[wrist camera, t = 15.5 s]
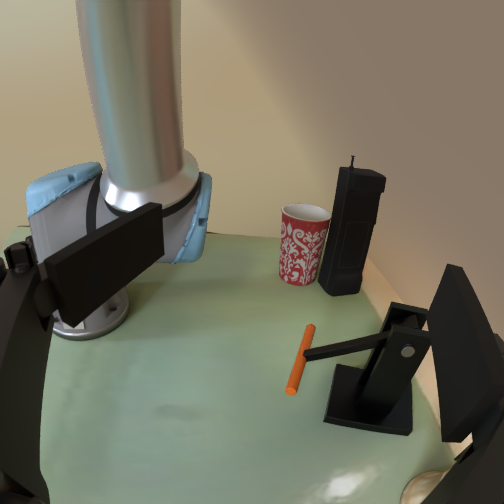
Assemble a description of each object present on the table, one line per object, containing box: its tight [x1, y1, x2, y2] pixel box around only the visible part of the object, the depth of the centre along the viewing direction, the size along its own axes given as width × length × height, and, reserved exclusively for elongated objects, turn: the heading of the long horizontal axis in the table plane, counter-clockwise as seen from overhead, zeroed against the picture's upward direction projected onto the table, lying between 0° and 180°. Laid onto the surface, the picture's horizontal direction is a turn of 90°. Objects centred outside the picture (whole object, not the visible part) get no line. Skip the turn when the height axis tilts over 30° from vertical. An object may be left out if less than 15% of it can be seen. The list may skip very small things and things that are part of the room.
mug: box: [279, 203, 332, 286], centre depth 58 cm, size 13×9×14 cm
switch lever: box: [285, 315, 419, 395], centre depth 30 cm, size 14×11×2 cm
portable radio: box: [318, 156, 386, 296], centre depth 52 cm, size 8×6×25 cm
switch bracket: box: [323, 302, 431, 436], centre depth 30 cm, size 11×9×14 cm
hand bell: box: [400, 468, 451, 504], centre depth 15 cm, size 8×8×16 cm
